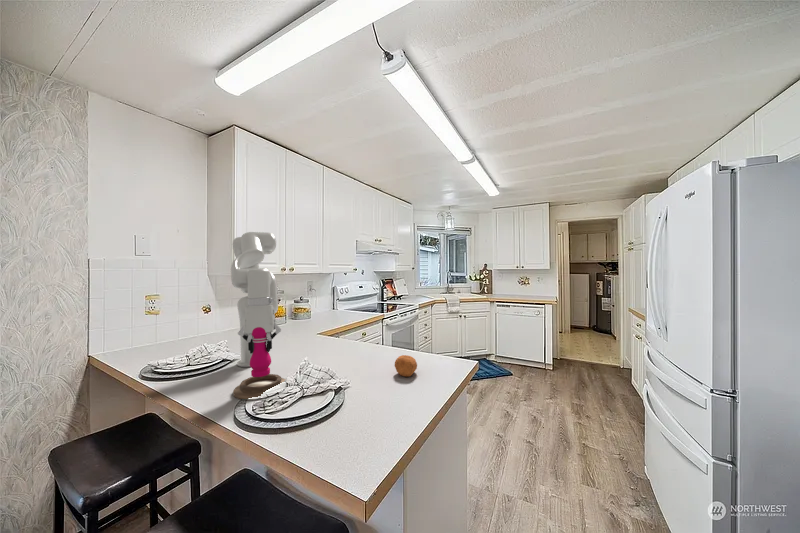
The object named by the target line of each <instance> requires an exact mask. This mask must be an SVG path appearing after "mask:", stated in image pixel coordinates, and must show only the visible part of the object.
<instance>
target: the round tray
mask: <svg viewBox="0 0 800 533" xmlns="http://www.w3.org/2000/svg"><path fill="white" fill-rule="evenodd" d="M285 380H287V379H286V378H283V377H282V376H281V375H279V374H276V373H270V374H268V375H266V376H263V377H252V376H251V377H248V378H245V379H244V380H242V381H241V382H240V384H239V385H237V386H236V387H235V388H233V392H232V393H233V395H232V396H233V397H234V398H235V399H237V400H241V399H248V398H252V397H258V396H261V394H263V392H265V391H266V390H268V389H270V388H272V387H274V386H276V385H278V384H280V383H282V382H284V381H285ZM241 401H242V400H241Z"/></svg>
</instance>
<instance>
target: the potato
mask: <svg viewBox="0 0 800 533" xmlns="http://www.w3.org/2000/svg"><path fill="white" fill-rule="evenodd" d="M417 367H418V363H417V361H416V359H415V357H413V356H411V355H403V354H402V355H400V356H398V357H396V359H395V361H394V368H395V370H396V373H397V374H398V375H400V376H402V377H411V376H413V374H414V373H415V371H416V370H417V369H418V368H417Z"/></svg>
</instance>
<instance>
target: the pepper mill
mask: <svg viewBox="0 0 800 533" xmlns="http://www.w3.org/2000/svg"><path fill="white" fill-rule="evenodd" d="M266 334H267V333H266V332H265V330H264V329H263V328H262V327H257V328H255V329H253V331H252V336H253V337H254V338H253V342H254V351H253V354H252V356H251V359H250V367H249V368H251V370H250V371H251V377H263V376H266V375H268V374H271V368H270V365H271V364H272V356H271V354H270V353H269V352H270V351H269V352H267V341H268V340H267V339H268V338H267V335H266Z"/></svg>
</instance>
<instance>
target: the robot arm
mask: <svg viewBox="0 0 800 533" xmlns="http://www.w3.org/2000/svg"><path fill="white" fill-rule="evenodd" d="M276 247H277V240H276V236H275V235H274V234H273V233H271V232H263V231H262V232H261V231H259V232H258V231H248V232H245V233H243V234H242V235H241V236H237V237H235V238H234V239H233V240H232V249H233V254H234V257H235V258H234V260H232V263H231V266H230V279H231V284H232V286H233V287H234V288H236V289H240V291H241V293H243V294H247V296H242V297H241V298H239V299H238V300H237V311H238V318H239V330H238V332H237V335H238V336H239V337H240V339H239V340H240V343H239V344H240V359H239V360H238V361H237V362H236V363H237V364H236V365H237V366H238V367H242V368H251V367H250V359H251V356H252V354H253V351H254V342H253V338H254V337H253V336H252V331H253V329H255V328H257V327H262V328H263V329H264V330H265V332H266V333H267V334H266V335H267V341H266V346H267V352H271V349H273V339H274V338H275V337H276V336H277V335H279V334H280V333H281V332H282V328H281V327H280V326H279V325H278V324H277V322H276V316H275V314H276V313H277V312H278V311H279V299H278V298H279V296H278V286H277V279H276V276H275V275H274V274H273V273H272V272H271V270H270V269H268V268H265V267H263V268H260V267H259V266H260V265H259V264H261V263H262V261H264V259H265V255H271V254H272V253H273V252H274V251H275V250H276Z"/></svg>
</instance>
